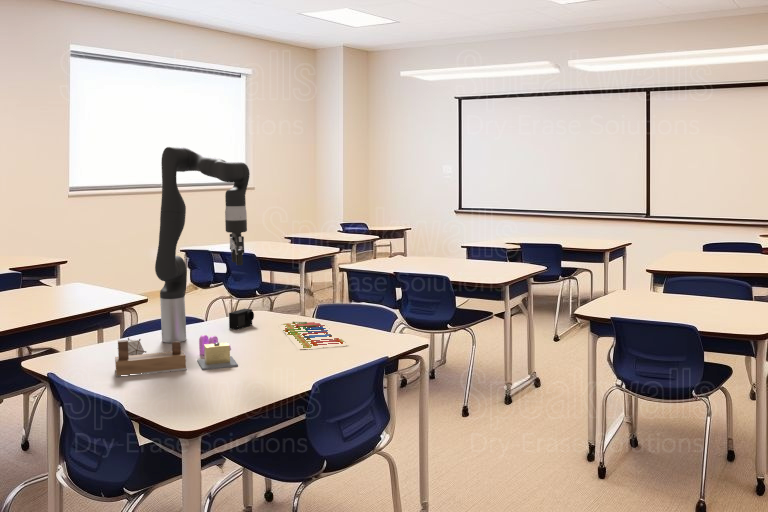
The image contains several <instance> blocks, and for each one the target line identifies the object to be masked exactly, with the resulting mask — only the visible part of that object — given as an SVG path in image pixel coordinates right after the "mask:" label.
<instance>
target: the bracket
mask: <svg viewBox="0 0 768 512" xmlns="http://www.w3.org/2000/svg"><path fill="white" fill-rule="evenodd" d="M214 343H219V338H218V336H215V335H211V336H210V337H209V336H208V335H207V334H202V335H200V337H199V339H198V344H199V355H201V356H204V345H205V344H214ZM228 344H229V345H230V350H231V344H230V343H228Z"/></svg>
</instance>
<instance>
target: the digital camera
mask: <svg viewBox="0 0 768 512" xmlns="http://www.w3.org/2000/svg"><path fill="white" fill-rule="evenodd" d="M254 318H255V314H254V311H253V310H252V309H250V308H241V309H237V310H235V311H232V312H228V322H229V323H228V325H229V326H228V327H229V330H235V331H238V330H241V329H244V328H248V327H250V326H253V320H254Z"/></svg>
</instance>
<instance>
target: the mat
mask: <svg viewBox="0 0 768 512" xmlns="http://www.w3.org/2000/svg"><path fill="white" fill-rule="evenodd" d="M196 362H197V363H198V366H199V367H200V369H201V371H206V370H207V371H208V370H216V369H217V370H218V369H226V368H234V367H235V368H237V367H239V364H238V363H237V361H236V360H235V359H234V357H233V356H232V355H230V362H228V363H218V364H209V365H207V364H206V363H205V358H202V359H200V358H199V359H196Z"/></svg>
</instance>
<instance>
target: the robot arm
mask: <svg viewBox="0 0 768 512" xmlns="http://www.w3.org/2000/svg"><path fill="white" fill-rule="evenodd" d="M160 165H161V203H160V213H159V214H160V215H159V216H160V218H159V233H158V234H159V235H158V246H157V252H156V259H155V263H154V264H155V265H154V266H155V267H154V271H155V275H156V277H157V278H158V279H159V280H160V281H162V282H164V284H163V287H162V288H161V289H160V291H159V299H160V300H159V303H160V322H161V325H160V326H161V341H162V342H163V343H169V344H172V342H173V341H180V342H184V341H186V340H187V322H186V318H187V317H186V301H185V300H186V299H185V296H186V295H185V293H186V291H187V277H188V275H187V265H186V261H185V260H184V258H182V257H181V256H179V255H177V254H176V253H177V245H178V242H179V239H180V238H181V235H182V232H183V230H184V228H185V223H186V214H187V211H186V210H187V206H186V203H185V200H184V198H183V196H182V194H181V193H180V190H179V188H178V184H177V174H178V172H179V173H181V172H182V173H185V172H200V173H201V174H203V175H204V176H207V177H211V178H215V179H218V180H220V181H222V182H225V183H233V187H232V188H230V189H227V190H226V191H225V195H224V197H225V198H224V199H225V202H224V203H225V211H224V214H225V215H224V218H225V219H224V220H225V221H224V222H225V225H224V226H225V232H226V233H229V250H230V253H231V262H232V263H236V264H235V265H236V266H243V264H244V256H243V255H244V254H245V239H244V238H245V237H244V235H243V236H242V233H246V232H247V231H248V222H247V221H248V219H247V217H248V215H247V214H248V213H247V206H246V200H247V199H246V194H247V189H248V185H249V181H250V169H249V166H248V165H247V164H246V163H245V162H239V161H238V162H232V161H231V162H227V161H226V160H224V159H221V158H217V157H213V156H206V155H202V154H200V153H198V152H196V151H194V150H191V149H190V148H186V147H180V146H166V147H165V148H164V150H163V152H162V155H161V164H160Z"/></svg>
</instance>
